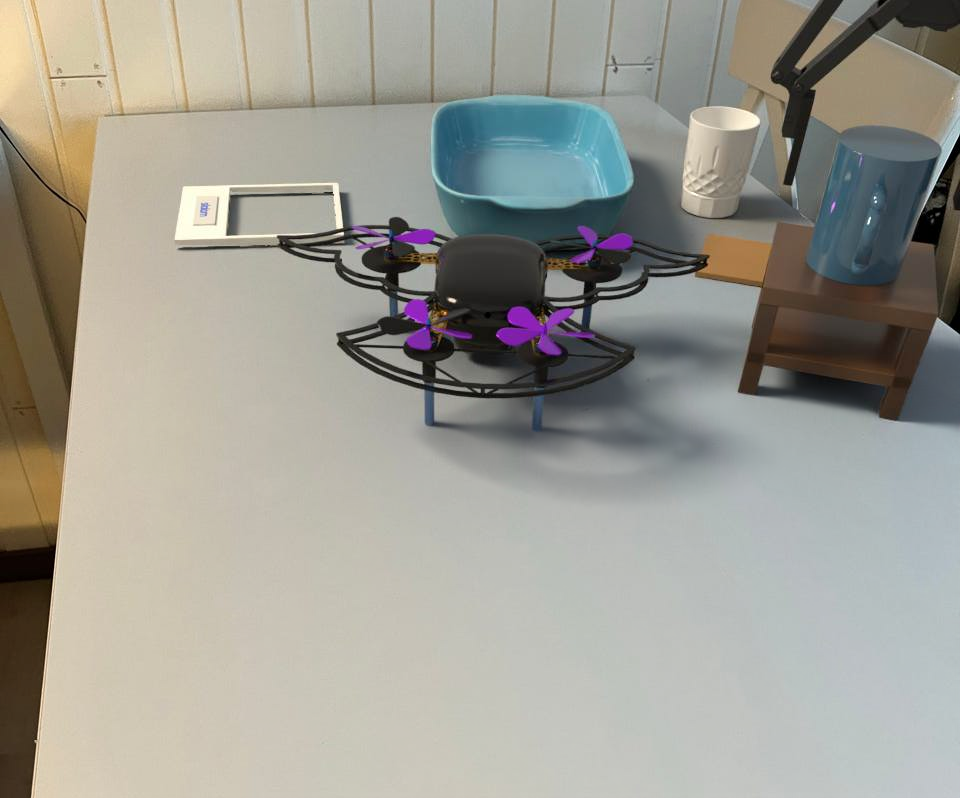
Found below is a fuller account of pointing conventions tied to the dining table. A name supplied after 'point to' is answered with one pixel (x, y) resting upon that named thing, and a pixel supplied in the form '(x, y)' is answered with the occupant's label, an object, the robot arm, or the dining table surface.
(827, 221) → the mug
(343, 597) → the dining table surface
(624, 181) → the casserole dish
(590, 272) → the drone
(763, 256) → the cork mat
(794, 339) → the walnut side table
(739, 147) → the white cup
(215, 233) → the photo frame
